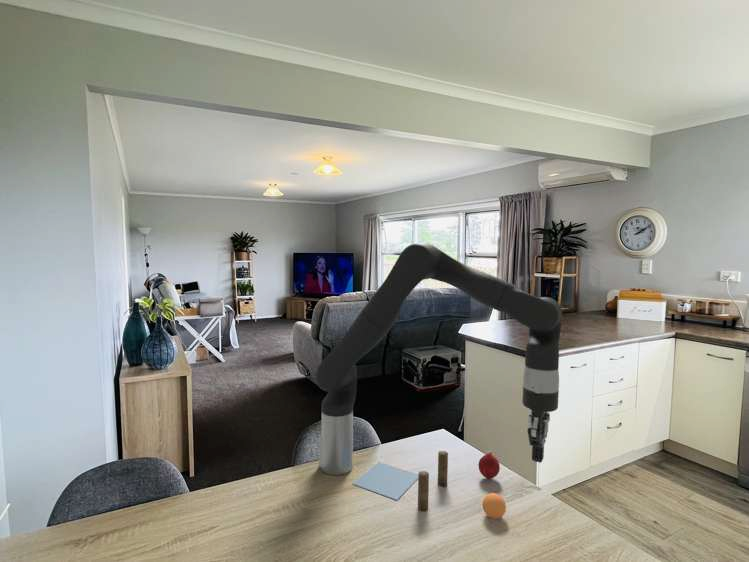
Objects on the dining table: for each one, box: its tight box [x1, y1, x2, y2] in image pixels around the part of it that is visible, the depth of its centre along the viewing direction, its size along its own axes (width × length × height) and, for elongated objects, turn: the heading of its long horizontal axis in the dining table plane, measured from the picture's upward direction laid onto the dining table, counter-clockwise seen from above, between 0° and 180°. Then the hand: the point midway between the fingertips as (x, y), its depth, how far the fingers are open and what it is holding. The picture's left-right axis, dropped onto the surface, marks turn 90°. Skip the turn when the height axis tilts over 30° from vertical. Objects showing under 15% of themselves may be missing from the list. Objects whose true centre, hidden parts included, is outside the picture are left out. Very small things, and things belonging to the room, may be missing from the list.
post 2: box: [437, 450, 449, 488], centre depth 116 cm, size 3×3×9 cm
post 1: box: [417, 470, 430, 512], centre depth 105 cm, size 3×3×9 cm
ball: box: [482, 492, 507, 520], centre depth 102 cm, size 6×6×6 cm
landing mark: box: [352, 461, 418, 501], centre depth 118 cm, size 14×14×1 cm
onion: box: [478, 450, 501, 480], centre depth 119 cm, size 6×6×8 cm
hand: (537, 460), depth 96 cm, fingers closed
